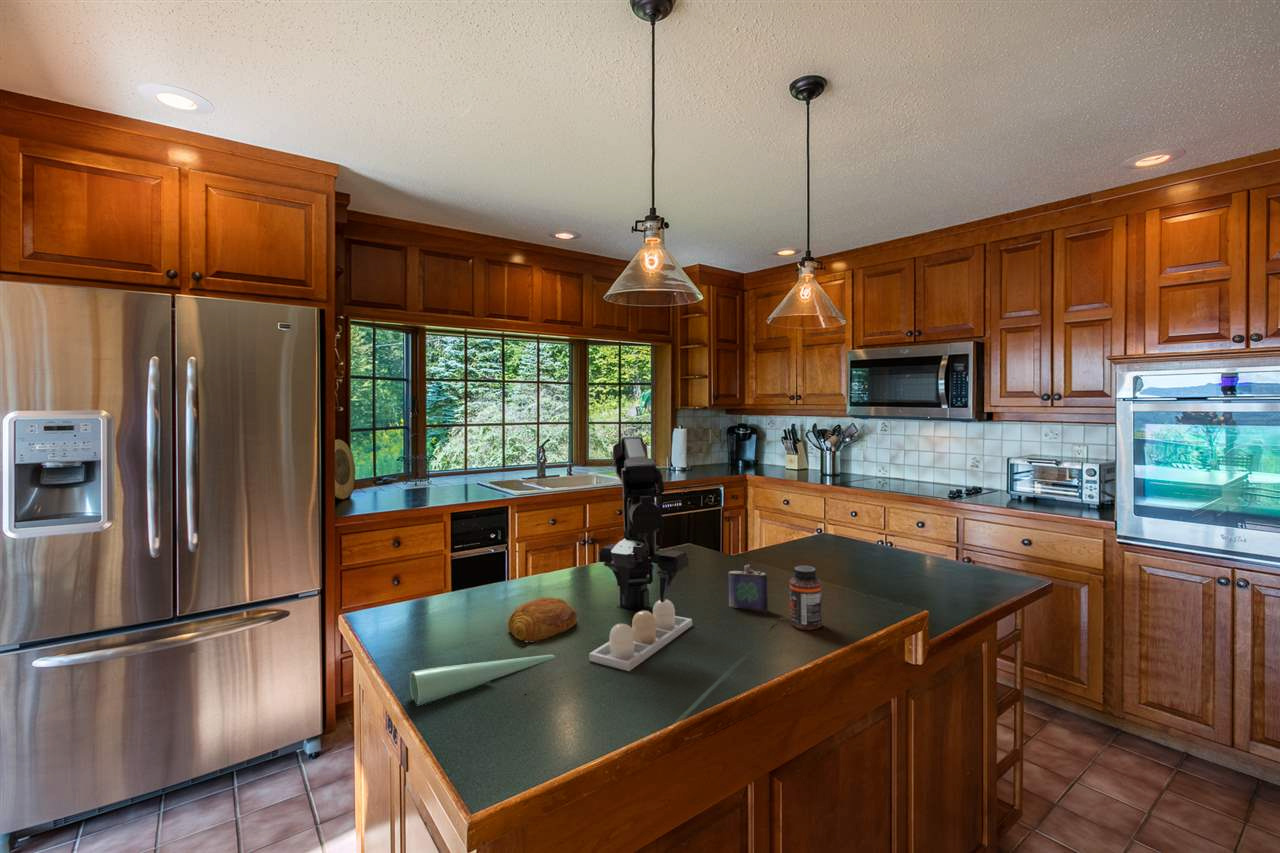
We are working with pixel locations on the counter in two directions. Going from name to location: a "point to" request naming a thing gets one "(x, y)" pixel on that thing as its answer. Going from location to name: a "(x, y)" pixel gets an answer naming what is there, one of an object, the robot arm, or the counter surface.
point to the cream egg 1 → (622, 642)
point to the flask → (748, 589)
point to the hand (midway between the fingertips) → (643, 598)
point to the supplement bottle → (805, 599)
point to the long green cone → (464, 676)
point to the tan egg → (644, 627)
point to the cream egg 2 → (664, 615)
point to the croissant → (541, 619)
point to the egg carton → (640, 647)
